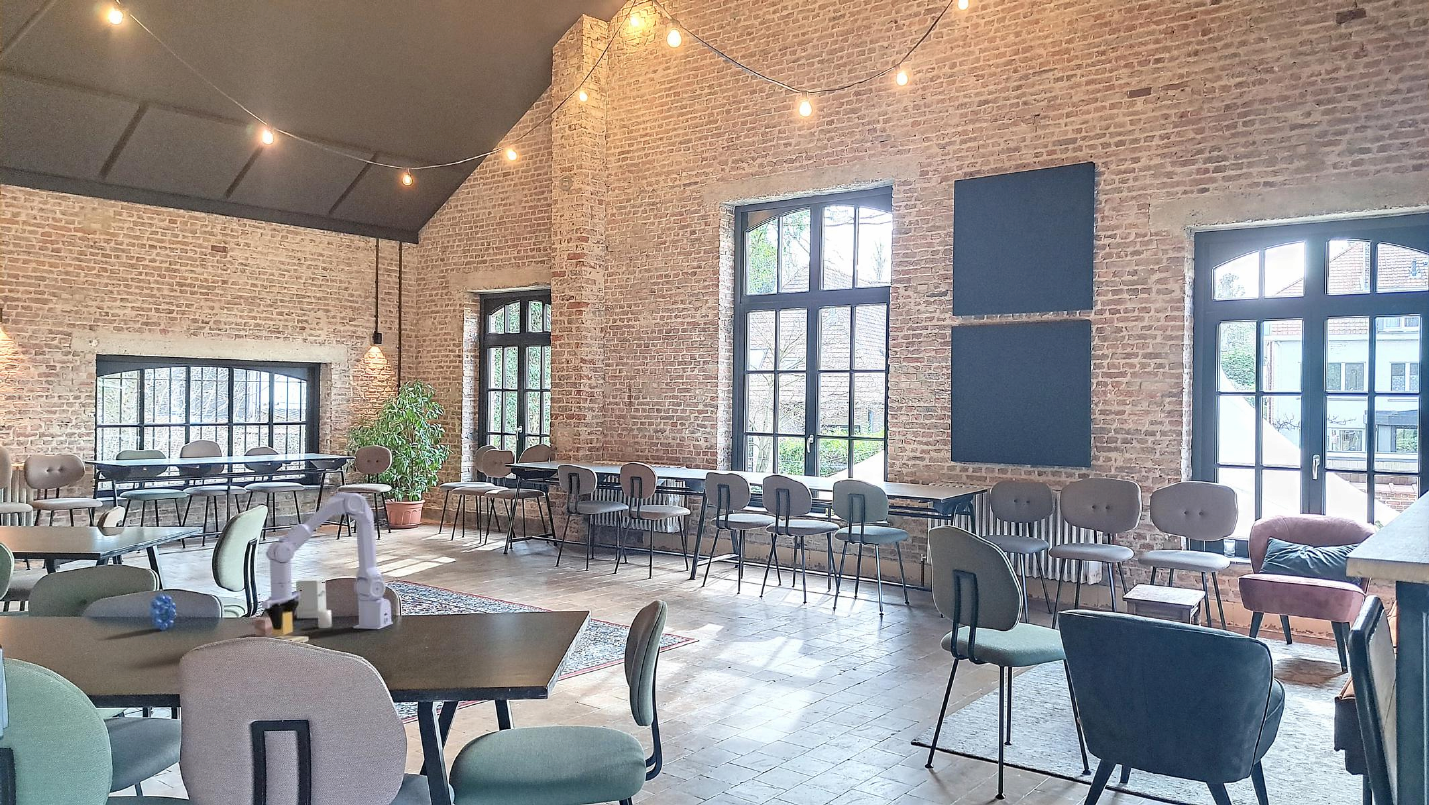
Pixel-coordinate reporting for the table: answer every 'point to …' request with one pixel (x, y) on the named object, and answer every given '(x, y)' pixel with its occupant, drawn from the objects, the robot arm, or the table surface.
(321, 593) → the supplement box
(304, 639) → the ash board
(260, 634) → the rose block
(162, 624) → the grapes
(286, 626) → the ochre block
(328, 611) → the grey cylinder
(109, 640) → the table surface
